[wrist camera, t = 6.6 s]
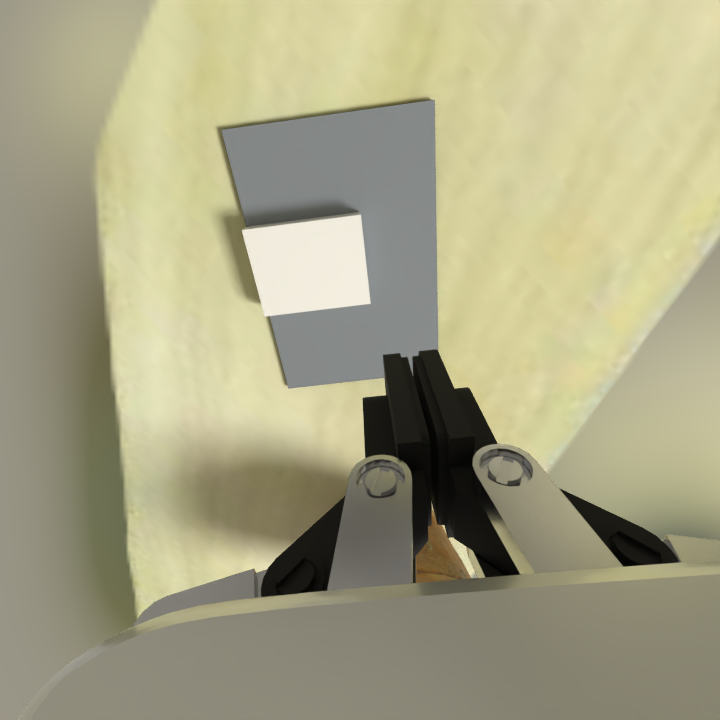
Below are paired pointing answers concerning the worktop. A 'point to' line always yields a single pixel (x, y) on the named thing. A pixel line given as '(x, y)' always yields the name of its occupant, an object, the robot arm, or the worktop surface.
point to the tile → (309, 264)
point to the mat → (379, 223)
